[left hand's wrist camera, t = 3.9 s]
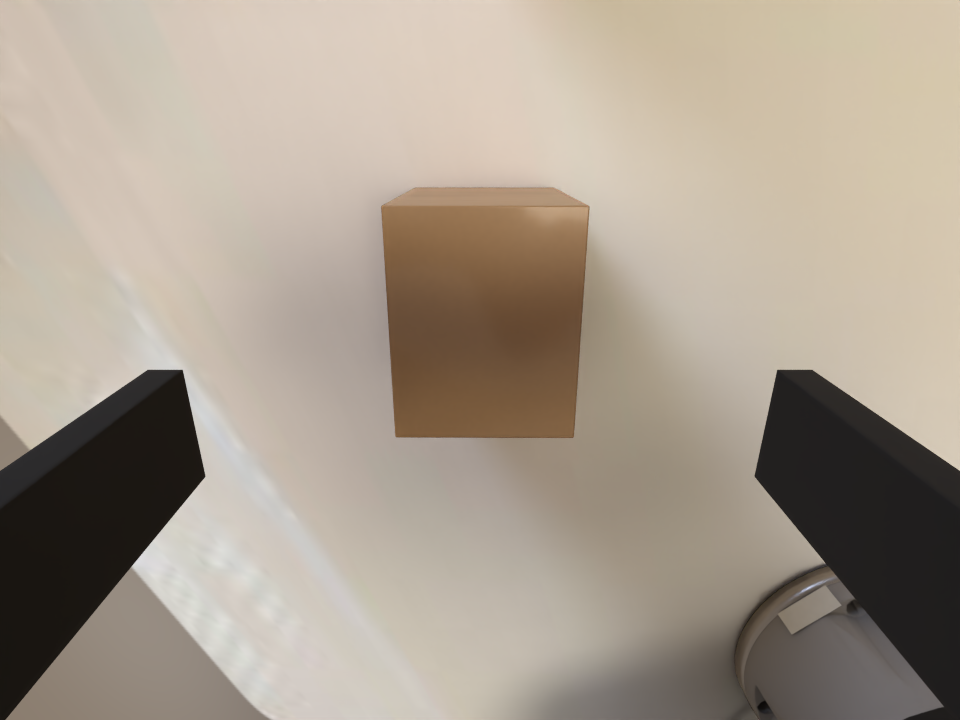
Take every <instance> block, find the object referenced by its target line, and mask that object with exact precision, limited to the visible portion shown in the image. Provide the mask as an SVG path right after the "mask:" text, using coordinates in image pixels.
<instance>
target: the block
mask: <svg viewBox="0 0 960 720" xmlns="http://www.w3.org/2000/svg"><path fill="white" fill-rule="evenodd" d="M381 210H382V226H383V242H384V258H385V275H386V291H387V307H388V324H389V340H390V356H391V373H392V389H393V405H394V422H395V436H396V437H476V438H573V437H574V426H575V411H576V396H577V382H578V367H579V352H580V338H581V323H582V308H583V294H584V279H585V264H586V250H587V235H588V220H589V206H588V205H586V204H584V203H582V202H580V201H578V200H576V199H575V198H573V197H571V196H569V195H567V194H565V193H563V192H561V191H559V190H557V189H555V188H414V189H412V190H410V191H408V192H406V193H405V194H403V195H401V196H399V197H397V198H395V199H394V200H392V201H390V202H388V203H386V204H384V205H383V206H382V207H381Z"/></svg>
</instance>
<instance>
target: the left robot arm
mask: <svg viewBox="0 0 960 720" xmlns="http://www.w3.org/2000/svg"><path fill="white" fill-rule="evenodd" d="M204 478H205V472H204V468H203V463H202V458H201V454H200V449H199V444H198V440H197V435H196V430H195V426H194V421H193V416H192V411H191V407H190V402H189V397H188V393H187V388H186V383H185V379H184V374H183V370H147V371H146V372H144V373H143V374H141V375H140V376H138V377H137V378H135V379H134V380H132V381H131V382H130V383H128V384H127V385H125V386H124V387H122V388H121V389H119V390H118V391H116V392H115V393H113V394H112V395H111V396H109V397H108V398H106V399H105V400H103V401H102V402H100V403H99V404H97V405H96V406H94V407H93V408H92V409H90V410H89V411H87V412H86V413H84V414H83V415H81V416H80V417H78V418H77V419H76V420H74V421H73V422H71V423H70V424H68V425H67V426H65V427H64V428H62V429H61V430H59V431H58V432H57V433H55V434H54V435H52V436H51V437H49V438H48V439H46V440H45V441H43V442H42V443H40V444H39V445H38V446H36V447H35V448H33V449H32V450H30V451H29V452H27V453H26V454H24V455H23V456H22V457H20V458H19V459H17V460H16V461H14V462H13V463H11V464H10V465H8V466H7V467H5V468H4V469H2V470H1V471H0V720H5V719H6V718H7V717H8V716H9V715H10V713H11V712H12V711H13V710H14V709H15V707H16V706H17V705H18V704H19V703H20V701H21V700H22V699H23V698H24V696H25V695H26V694H27V693H28V692H29V690H30V689H31V688H32V687H33V685H34V684H35V683H36V682H37V681H38V679H39V678H40V677H41V676H42V675H43V673H44V672H45V671H46V670H47V668H48V667H49V666H50V665H51V664H52V662H53V661H54V660H55V659H56V658H57V656H58V655H59V654H60V653H61V651H62V650H63V649H64V648H65V647H66V645H67V644H68V643H69V642H70V640H71V639H72V638H73V637H74V636H75V634H76V633H77V632H78V631H79V630H80V628H81V627H82V626H83V625H84V623H85V622H86V621H87V620H88V619H89V617H90V616H91V615H92V614H93V613H94V611H95V610H96V609H97V608H98V606H99V605H100V604H101V603H102V602H103V600H104V599H105V598H106V597H107V595H108V594H109V593H110V592H111V591H112V589H113V588H114V587H115V586H116V585H117V583H118V582H119V581H120V580H121V579H122V577H123V576H124V575H125V574H126V572H127V571H128V570H129V569H130V568H131V566H132V565H133V564H134V563H135V562H136V560H137V559H138V558H139V557H140V555H141V554H142V553H143V552H144V551H145V549H146V548H147V547H148V546H149V544H150V543H151V542H152V541H153V540H154V538H155V537H156V536H157V535H158V534H159V532H160V531H161V530H162V529H163V527H164V526H165V525H166V524H167V523H168V521H169V520H170V519H171V518H172V517H173V515H174V514H175V513H176V512H177V510H178V509H179V508H180V507H181V506H182V504H183V503H184V502H185V501H186V500H187V498H188V497H189V496H190V495H191V493H192V492H193V491H194V490H195V489H196V487H197V486H198V485H199V484H200V482H201V481H202V480H203V479H204ZM755 478H756V479H757V480H758V481H759V482H760V484H761V485H762V486H763V487H764V489H765V490H766V491H767V492H768V493H769V495H770V496H771V497H772V498H773V500H774V501H775V502H776V503H777V504H778V506H779V507H780V508H781V509H782V510H783V512H784V513H785V514H786V515H787V517H788V518H789V519H790V520H791V521H792V523H793V524H794V525H795V526H796V527H797V529H798V530H799V531H800V532H801V534H802V535H803V536H804V537H805V538H806V540H807V541H808V542H809V543H810V544H811V546H812V547H813V548H814V549H815V551H816V552H817V553H818V554H819V555H820V557H821V558H822V559H823V560H824V562H825V563H826V564H827V565H828V566H827V567H824V568H820V569H818V570H815V571H813V572H810V573H808V574H806V575H804V576H802V577H799V578H797V579H796V580H794V581H792V582H790V583H789V584H787V585H785V586H784V587H783V588H781V589H780V590H778V591H777V592H776V593H774V594H773V595H772V596H771V597H769V598H768V599H767V600H766V601H765V602H764V603H763V604H762V605H761V606H760V607H759V608H758V609H757V610H756V611H755V613H754V614H753V615H752V616H751V618H750V619H749V621H748V622H747V624H746V626H745V627H744V629H743V631H742V633H741V635H740V638H739V641H738V644H737V647H736V653H735V670H736V675H737V678H738V681H739V684H740V686H741V688H742V690H743V692H744V694H745V696H746V698H747V700H748V702H749V704H750V706H751V708H752V709H753V711H754V712H755V714H756V715H757V717H758V718H759V720H960V471H959V470H958V469H956V468H955V467H953V466H952V465H950V464H949V463H947V462H946V461H944V460H943V459H941V458H940V457H939V456H937V455H936V454H934V453H933V452H931V451H930V450H928V449H927V448H925V447H924V446H922V445H921V444H920V443H918V442H917V441H915V440H914V439H912V438H911V437H909V436H908V435H906V434H905V433H903V432H902V431H901V430H899V429H898V428H896V427H895V426H893V425H892V424H890V423H889V422H887V421H886V420H884V419H883V418H882V417H880V416H879V415H877V414H876V413H874V412H873V411H871V410H870V409H868V408H867V407H866V406H864V405H863V404H861V403H860V402H858V401H857V400H855V399H854V398H852V397H851V396H849V395H848V394H847V393H845V392H844V391H842V390H841V389H839V388H838V387H836V386H835V385H833V384H832V383H830V382H829V381H828V380H826V379H825V378H823V377H822V376H820V375H819V374H817V373H816V372H814V371H813V370H777V374H776V379H775V383H774V388H773V393H772V397H771V402H770V407H769V411H768V416H767V421H766V426H765V430H764V435H763V440H762V444H761V449H760V454H759V458H758V463H757V468H756V472H755Z"/></svg>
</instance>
